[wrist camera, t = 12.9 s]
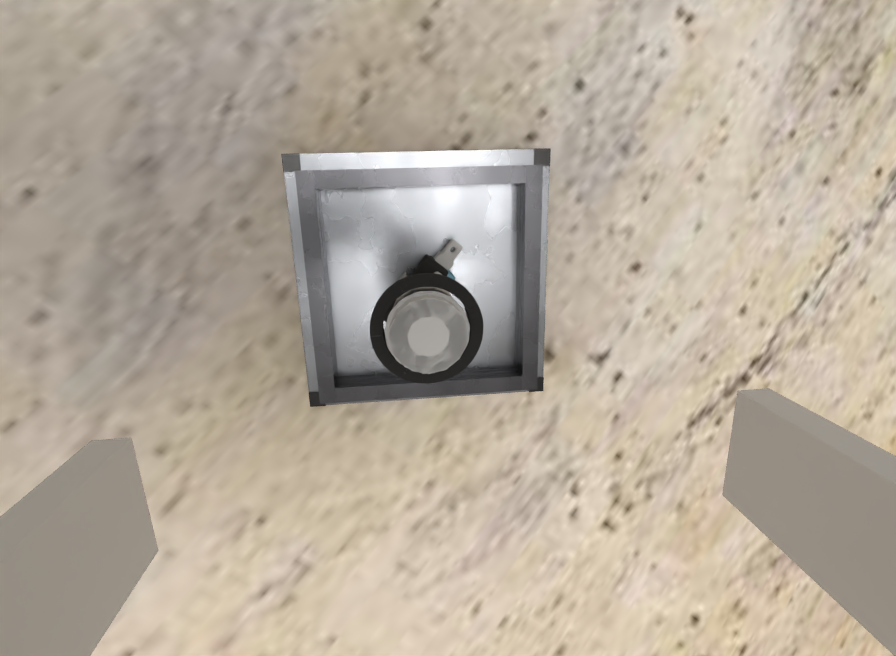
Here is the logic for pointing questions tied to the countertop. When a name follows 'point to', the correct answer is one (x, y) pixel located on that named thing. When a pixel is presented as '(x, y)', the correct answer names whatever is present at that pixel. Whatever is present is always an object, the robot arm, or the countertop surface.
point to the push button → (427, 322)
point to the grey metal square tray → (418, 261)
